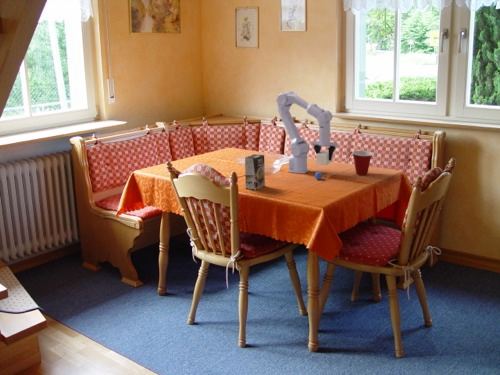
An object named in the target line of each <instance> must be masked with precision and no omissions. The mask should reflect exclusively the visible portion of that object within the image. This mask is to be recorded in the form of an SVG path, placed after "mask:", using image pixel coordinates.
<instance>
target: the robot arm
mask: <svg viewBox="0 0 500 375" xmlns="http://www.w3.org/2000/svg"><path fill="white" fill-rule="evenodd" d="M276 104H277V110H278V111H277V112H278V114H279V116H280V118H281V121H282V123H283V125H284V127H285V130H286V133H287V134H288V137H289V139H290V144H289V146H290V152H291V155H290V156H289V159H288V173H295V174H306V173H308V172H310V170H311V169H309V168H308V153H309V151H310V146H311V147H313V150H314V151H315V153H316V154H318V153H320V152H321V149H322V147H326V148H327V147H328V148H327V151H329V161H330V160H332V155H333V154H334V152H335V149H336V148H339V142H338V143H337V142H332V141H331V121H332V119H333V114H332V112H331V111H330V110H325V109H324V108H321V107H320V106H318V104H316V103H312V104H310V103H309V102H308V101H306V100H305V99H303V98H302V97H300V96H299V95H298V94H297V93H296V92H294V91H291V90H289V91H286V92H281V93H279V94H278V95H277V97H276ZM293 104H295V105H297V106H298V107H300V108H303V109H304V110H306V112H307V114H308V115H310V116H311V117H313V118H315V119H316V121H317V123H318V127H319V128H318V131H319V133H318V141H311V142H310V145H309V143H308V142H307V141H306V139H305V138H303V137H302V136H301V135H300V132H299V130H298V128H297V125H296V123H295V121H294V118H293V117H292V114H291V112H290V109H291V107H292V106H293ZM333 156H334V155H333Z"/></svg>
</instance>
